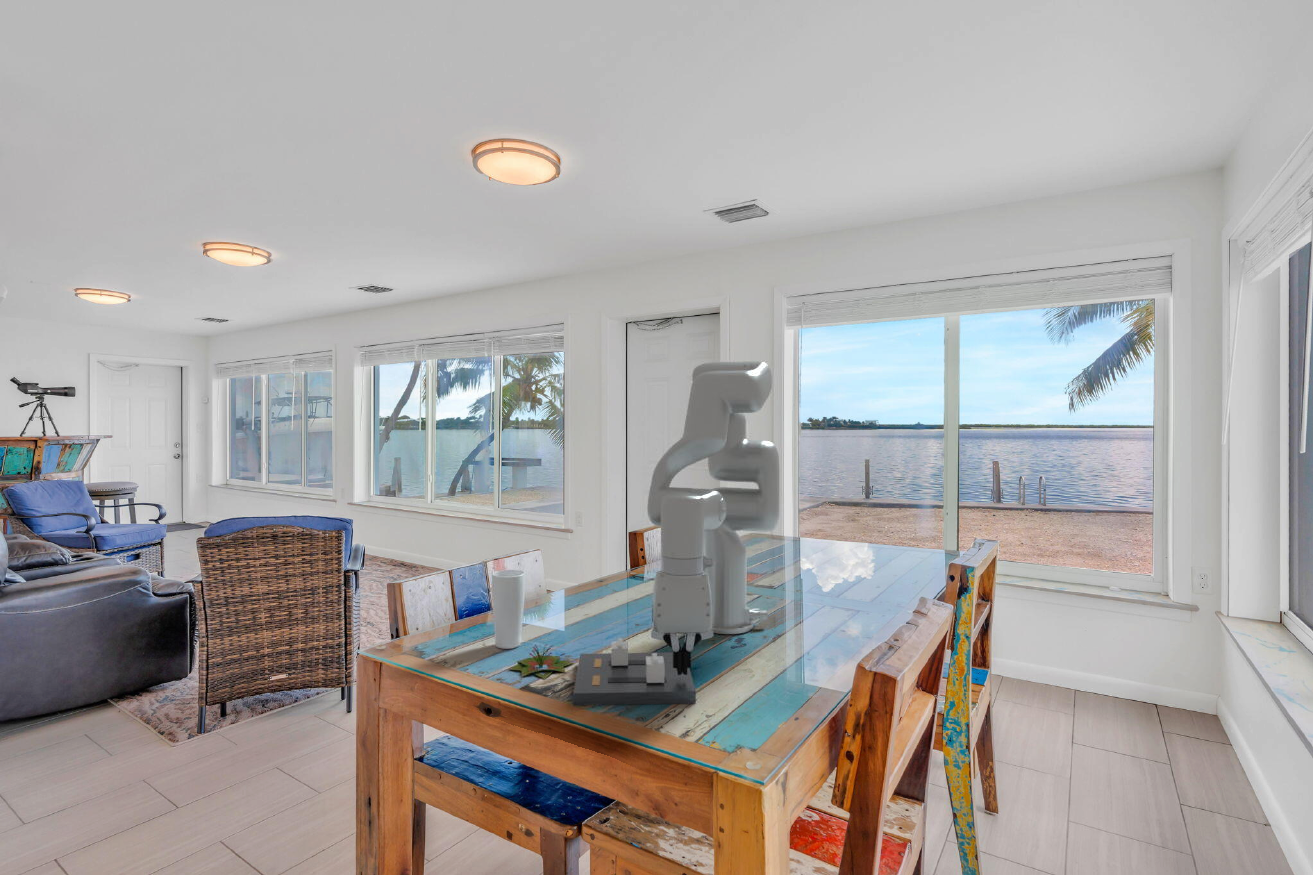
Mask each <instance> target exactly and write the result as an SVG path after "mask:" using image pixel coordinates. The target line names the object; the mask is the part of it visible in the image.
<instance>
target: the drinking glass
mask: <svg viewBox="0 0 1313 875" xmlns="http://www.w3.org/2000/svg"><path fill="white" fill-rule="evenodd" d="M525 597H526V573H525V571H523V570H519V569H503V570H497V571H494V572H493V573H492V574H491V604H492V614H493V626H494V628H493V629H494V645H495V647H497V648H498V649H501V650H509V649H516V648H518V647H519V646H521V644H522V635H523V633H522V632H523V631H522V630H523V621H524V620H523V619H524V612H525V610H524V609H525V608H524V607H525V599H526V598H525Z"/></svg>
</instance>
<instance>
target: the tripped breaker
mask: <svg viewBox="0 0 1313 875" xmlns="http://www.w3.org/2000/svg"><path fill="white" fill-rule="evenodd" d="M651 653H652V656H651V657H646V681H647V683H664V682H665V664H664V659H663V656H657V653H658V652H651Z"/></svg>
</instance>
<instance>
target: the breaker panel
mask: <svg viewBox="0 0 1313 875" xmlns="http://www.w3.org/2000/svg"><path fill="white" fill-rule="evenodd" d="M652 653H653V652H628V665H615V666H611V652H610V653H609V652H608V653H603V652H602V653H579V659H578V665H577V670H576V676H575V682H574V687H573V694H572V696H573V698H572V699H573V700H572V703H573V706H574V707H575V706H577V707H578V706H620V705H632V706H633V705H675V704H678V705H682V704H696V703H697V700H696V699H697V697H696V696H697V691H696V687H695V683H694V680H693V677H692V672H691V670H690V669H691V668H687V675H684V674H683V672H682V674H681V675H678V673H677V669H676V668H673V652H656V653H657V656H663V659H664V664H665V682H664V683H647V681H646V657H651V656H652Z"/></svg>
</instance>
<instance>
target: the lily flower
mask: <svg viewBox="0 0 1313 875" xmlns="http://www.w3.org/2000/svg"><path fill="white" fill-rule="evenodd" d="M540 645H541V643H540ZM547 645H548V643H546V644H545V645H544V648H543V650H542V651H539V649H538V646H537V645H536V644H534V646H535V647H534V646H532V648H533V649H532V650H531V652H532V653H533V654H535V656H534V655H533V654H532V653H531V652H529V653H528V655H529V656H531V657H526V658H523V659H522V660H521V659H520V660H518V662H519V664H515V665H514V666H511V667H510V668H508V670H512V671H513V670H514V671H520V672H521V676H520V678H522V677H525V676H527V675H529V674H534V675H535V676H538V677H540V678H542V679H544V680H545V679H546V678H547V677H548V676H550V675H551V674H552V673H553V671H557V672H561V673H565V674H566V673H567V672H566V670H565V668H564V667H566V666H569V665H573V664H575V662H571V661H566V660H560V658H561V656H556V655H555V656H554V655H552V652H549V653H548V651H549V650H551V648H553V647H554V645H553V644H552V645H550V646H549V647H548V648H547V649H546V646H547ZM545 649H546V650H545ZM535 652H536V653H535ZM547 653H548V654H547ZM520 663H521V664H520ZM536 666H538V667H539V668H543V666H547V668H545V669H544V668H543V669H536ZM540 671H546V672H545V673H540Z"/></svg>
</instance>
